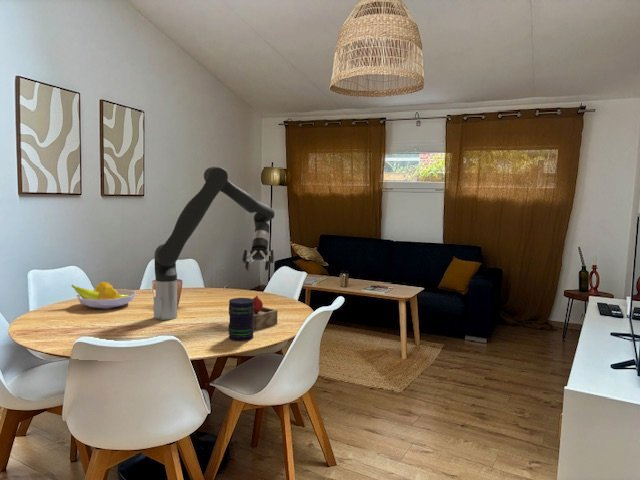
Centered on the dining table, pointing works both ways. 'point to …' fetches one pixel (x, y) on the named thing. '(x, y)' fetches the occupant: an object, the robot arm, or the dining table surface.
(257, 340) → the dining table surface
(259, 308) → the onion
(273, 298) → the dining table surface
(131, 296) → the fruit bowl
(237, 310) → the storage jar
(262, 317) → the wooden square tray
